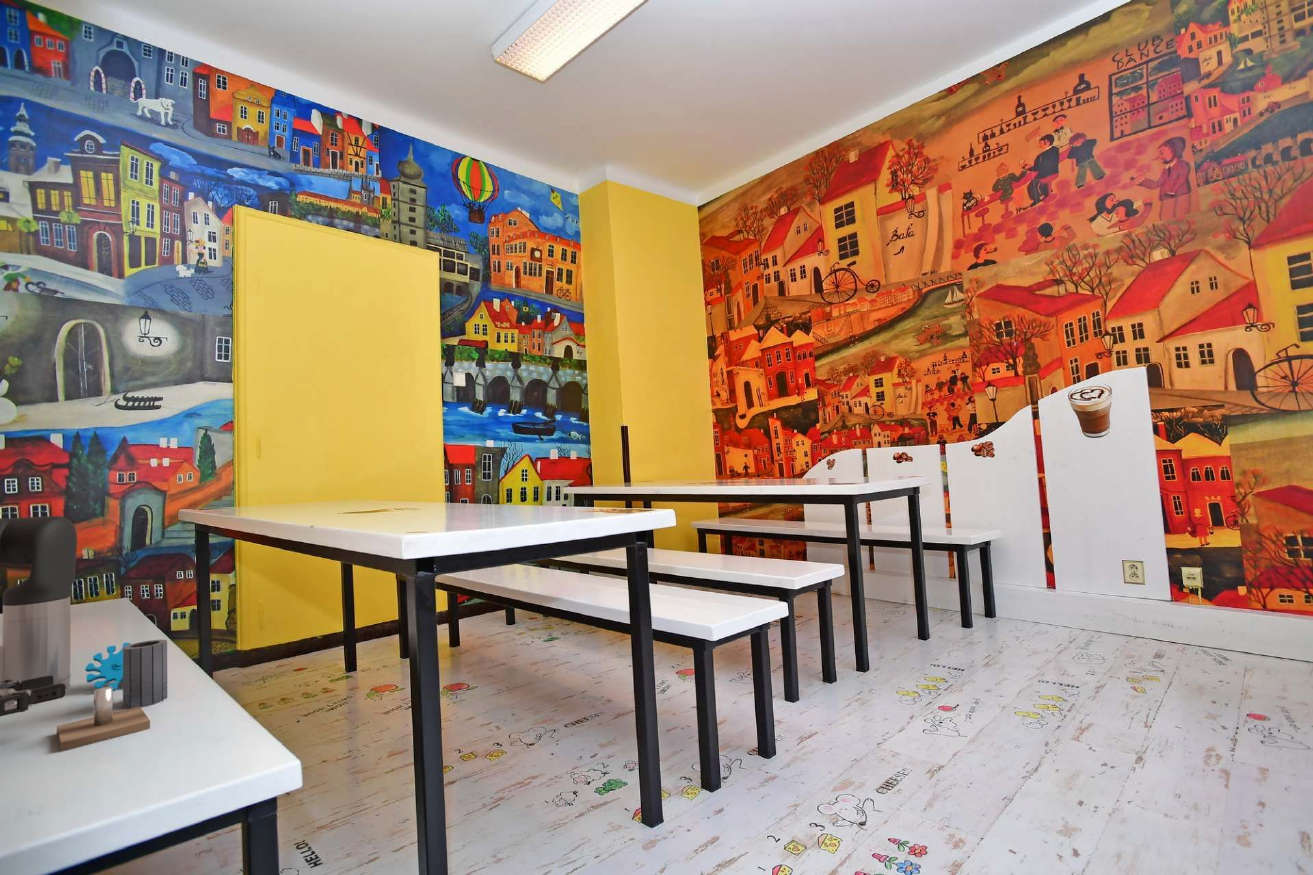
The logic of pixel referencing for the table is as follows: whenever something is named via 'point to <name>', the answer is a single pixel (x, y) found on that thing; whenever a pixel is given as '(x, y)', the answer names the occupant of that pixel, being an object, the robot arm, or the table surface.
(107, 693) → the shaft
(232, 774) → the table surface
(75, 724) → the base plate
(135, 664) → the sleeve
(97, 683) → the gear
